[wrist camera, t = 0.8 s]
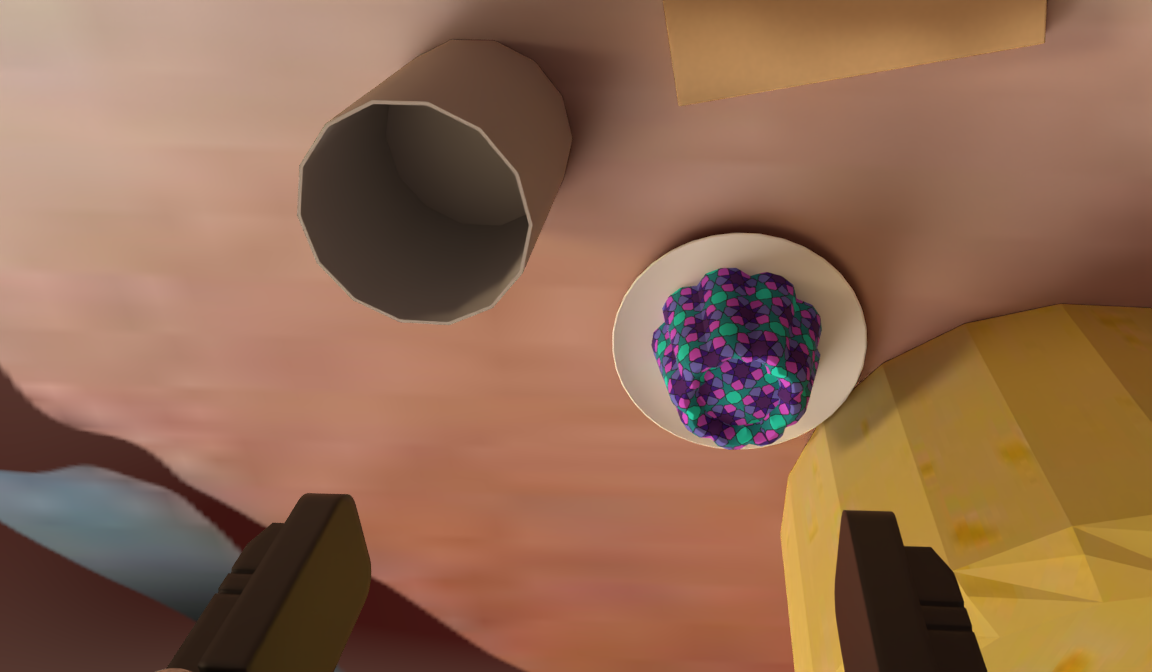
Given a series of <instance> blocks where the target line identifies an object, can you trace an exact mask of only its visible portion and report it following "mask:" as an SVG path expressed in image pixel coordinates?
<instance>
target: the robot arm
mask: <svg viewBox="0 0 1152 672" xmlns="http://www.w3.org/2000/svg"><path fill="white" fill-rule="evenodd" d="M370 581H371V562H370V557H369V554H368V550H367V546H366V542H365V538H364V535H363V531H362V527H361V523H360V519H359V516H358V512H357V508H356V504H355V501H354V499H353V498H352V497H351V496H350V495H348V494H316V493H307V494H304V495H303V496H302V497H301V498H300V499H299V501H298V502H297V504H296V505H295V507H294V509H293V510H292V512H291V513H290V515H289V517H288V518H287V520H286V522H285V523H272V524H271V525H270V526H268V527H267V528H266V529H265V530H264V531H262V532H261V533H260V534H259V535H258V536H256V537H255V538H254V539H253V540H252V541H251V542H249V543H248V544H247V545H246V547H245V549H244V550H243V552H242V553H241V555H240V556H239V558H238V559H237V561H236V562H235V564H234V565H233V567H232V572H231V574H230V573H228V575H227V576H226V578H225V579H224V581H223V582H222V584H221V585H220V587H219V588H218V589H219V592H218V594H215V595H214V596H213V598H212V599H211V601H210V602H209V604H208V605H207V607H206V608H205V610H204V612H203V613H202V615H201V616H200V618H199V619H198V621H197V622H196V624H195V625H194V627H193V629H192V630H191V632H190V633H189V635H188V636H187V638H186V639H185V641H184V643H183V644H182V645H181V647H180V648H179V650H178V652H177V653H176V655H175V656H174V658H173V659H172V661H171V663H170V664H169V665H168V667H167V668H166V669H163V670H159V671H156V672H334V670H335V668H336V665H337V663H338V661H339V658H340V656H341V654H342V652H343V650H344V647H345V645H346V642H347V641H348V638H349V636H350V634H351V632H352V630H353V627H354V625H355V623H356V621H357V618H358V616H359V614H360V612H361V609H362V607H363V605H364V602H365V600H366V598H367V595H368V592H369V587H370ZM834 595H835V614H836V622H837V629H838V635H839V641H840V647H841V653H842V659H843V665H844V671H845V672H988V671H987V668H986V665H985V663H984V660H983V657H982V654H981V651H980V648H979V645H978V642H977V639H976V636H975V633H974V632H973V631H972V624H971V621H970V618H969V615H968V612H967V609H966V608H965V607H964V600H963V597H962V594H961V591H960V588H959V585H958V582H957V579H956V576H955V573H954V572H953V571H952V570H951V569H950V568H949V566H948V565H947V564H946V563H945V562H944V561H943V560H942V559H941V557H940V556H939V555H938V554H937V553H936V552H935V551H934V550H933V548H932V547H918V546H904V544H903V541H902V537H901V534H900V530H899V526H898V523H897V519H896V516H895V514H894V513H893V512H892V511H862V510H843V512H842V516H841V523H840V534H839V544H838V554H837V564H836V574H835V590H834Z"/></svg>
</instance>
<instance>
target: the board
mask: <svg viewBox="0 0 1152 672" xmlns="http://www.w3.org/2000/svg"><path fill="white" fill-rule="evenodd" d="M663 7H664V13H665V20H666V27H667V33H668V40H669V46H670V53H671V60H672V66H673V73H674V80H675V86H676V93H677V99H678V105H679V106H684V105H690V104H696V103H702V102H708V101H713V100H719V99H725V98H731V97H737V96H742V95H748V94H754V93H760V92H766V91H771V90H777V89H783V88H789V87H795V86H800V85H806V84H812V83H818V82H823V81H829V80H835V79H841V78H847V77H852V76H858V75H864V74H870V73H876V72H881V71H887V70H893V69H899V68H905V67H910V66H916V65H922V64H928V63H934V62H939V61H945V60H951V59H957V58H962V57H968V56H974V55H980V54H986V53H991V52H997V51H1003V50H1009V49H1015V48H1020V47H1026V46H1032V45H1038V44H1043V43H1045V32H1046V11H1047V0H663Z"/></svg>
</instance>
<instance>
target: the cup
mask: <svg viewBox="0 0 1152 672" xmlns="http://www.w3.org/2000/svg"><path fill="white" fill-rule="evenodd" d="M571 143H572V134H571V130H570V126H569V122H568V118H567V114H566V110H565V105H564V101H563V97H562V95H561V94H560V93H559V92H558V90H557V89H556V88H555V86H554V85H553V84H552V83H551V81H550V80H549V79H548V78H547V76H546V75H545V74H544V72H543V71H542V70H541V69H540V67H539V66H538V65H537V64H536V62H535V61H534V60H532V59H530V58H528V57H526V56H524V55H522V54H520V53H518V52H516V51H514V50H512V49H510V48H508V47H506V46H504V45H502V44H500V43H498V42H496V41H495V40H449V41H447V42H445V43H444V44H442V45H440V46H438V47H436V48H434V49H432V50H430V51H428V52H426V53H424V54H422V55H420V56H419V57H417V58H415V59H413V60H412V61H410V62H409V63H408V64H406V65H405V66H404V67H402V68H401V69H400V70H398V71H397V72H395V73H394V74H393V75H391V76H390V77H389V78H387V79H386V80H385V81H383V82H382V83H380V84H379V85H378V86H376V87H375V88H374V89H372V90H371V91H370V92H368V93H367V94H365V95H364V96H363V97H361V98H360V99H359V100H357V101H356V102H355V103H353V104H352V105H350V106H349V107H348V108H346V109H345V110H344V111H342V112H341V113H340V114H338V115H337V116H335V117H334V118H333V119H331V120H330V121H329V122H327V123H326V124H325V125H324V127H323V129H322V130H321V132H320V133H319V135H318V137H317V138H316V140H315V141H314V143H313V145H312V146H311V148H310V149H309V151H308V153H307V154H306V156H305V157H304V159H303V161H302V162H301V164H300V165H299V186H298V206H297V216H298V219H299V221H300V223H301V226H302V228H303V231H304V233H305V236H306V238H307V240H308V243H309V245H310V248H311V250H312V253H313V255H314V257H315V260H316V262H317V264H318V265H319V266H320V267H321V268H322V269H323V270H324V271H325V272H326V273H327V274H328V275H329V276H330V277H331V278H332V279H333V280H334V281H335V282H336V283H337V284H338V285H339V286H340V287H341V288H342V289H343V290H344V291H345V292H346V293H347V295H348V296H349V297H350V298H351V299H352V300H353V301H356V302H358V303H360V304H362V305H364V306H366V307H368V308H371V309H373V310H375V311H377V312H379V313H381V314H383V315H385V316H388V317H390V318H392V319H394V320H396V321H398V322H404V323H421V324H439V325H451V324H453V323H456V322H458V321H461V320H463V319H466V318H468V317H471V316H474V315H476V314H479V313H481V312H484V311H486V310H489V309H491V308H493V307H494V306H495V305H496V304H497V302H498V301H499V300H500V299H501V298H502V297H503V295H504V294H505V293H506V292H507V291H508V290H509V288H510V287H511V286H512V285H513V284H514V283H515V281H516V280H517V279H518V278H519V277H520V276H521V274H522V273H523V271H524V269H525V267H526V264H527V262H528V260H529V257H530V255H531V253H532V250H533V248H534V246H535V243H536V241H537V239H538V237H539V234H540V232H541V230H542V227H543V225H544V223H545V220H546V218H547V216H548V213H549V211H550V209H551V206H552V204H553V202H554V199H555V197H556V195H557V192H558V190H559V188H560V186H561V183H562V181H563V179H564V175H565V170H566V166H567V161H568V156H569V152H570V147H571Z"/></svg>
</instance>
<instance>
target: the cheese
mask: <svg viewBox="0 0 1152 672" xmlns="http://www.w3.org/2000/svg"><path fill="white" fill-rule="evenodd" d="M843 510H862V511H892V512H893V513H894V514H895V516H896V519H897V523H898V526H899V530H900V534H901V537H902V541H903V544H904V546H918V547H932V548H933V550H934V551H935V552H936V553H937V554H938V555H939V556H940V557H941V559H942V560H943V561H944V562H945V563H946V564H947V565H948V566H949V568H950V569H951V570H952V571H953V572H954V573H955V576H956V579H957V582H958V585H959V588H960V591H961V594H962V597H963V600H964V607H965V608H966V609H967V612H968V615H969V618H970V621H971V624H972V631H973V632H974V633H975V636H976V639H977V642H978V645H979V648H980V651H981V654H982V657H983V660H984V663H985V665H986V668H987V671H988V672H1152V308H1140V307H1118V306H1096V305H1074V304H1057V305H1053V306H1048V307H1043V308H1038V309H1033V310H1029V311H1024V312H1019V313H1014V314H1009V315H1005V316H1000V317H995V318H990V319H986V320H981V321H976V322H971V323H966V324H963V325H961V326H959V327H957V328H955V329H953V330H951V331H949V332H947V333H945V334H943V335H941V336H939V337H936V338H934V339H932V340H930V341H928V342H926V343H924V344H922V345H920V346H918V347H916V348H914V349H912V350H910V351H908V352H906V353H904V354H902V355H900V356H897V357H895V358H893V359H891V360H889V361H887V362H885V363H883V364H882V365H880V366H879V367H878V368H877V369H876V370H875V371H874V372H873V373H871V374H870V375H869V376H868V377H867V378H866V379H865V380H864V381H862V382H861V383H860V384H859V385H858V386H857V387H856V388H854V389H853V390H852V391H851V393H850V394H849V396H848V397H847V399H846V400H845V401H844V402H843V404H842V405H841V406H840V407H839V408H838V409H837V410H836V411H835V412H834V413H833V414H832V415H831V416H830V417H828V418H827V419H826V420H824V421H823V422H822V423H821V424H819V425H818V426H817V427H816V429H815V431H814V432H813V434H812V436H811V438H810V439H809V441H808V443H807V444H806V446H805V448H804V450H803V451H802V453H801V455H800V457H799V458H798V460H797V462H796V464H795V465H794V467H793V469H792V471H791V472H790V474H789V476H788V483H787V490H786V497H785V505H784V512H783V519H782V527H781V544H782V553H783V563H784V572H785V582H786V592H787V601H788V611H789V620H790V630H791V640H792V649H793V659H794V668H795V672H845V671H844V665H843V659H842V653H841V647H840V641H839V635H838V629H837V622H836V614H835V595H834V590H835V574H836V564H837V554H838V544H839V534H840V523H841V516H842V512H843Z"/></svg>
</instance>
